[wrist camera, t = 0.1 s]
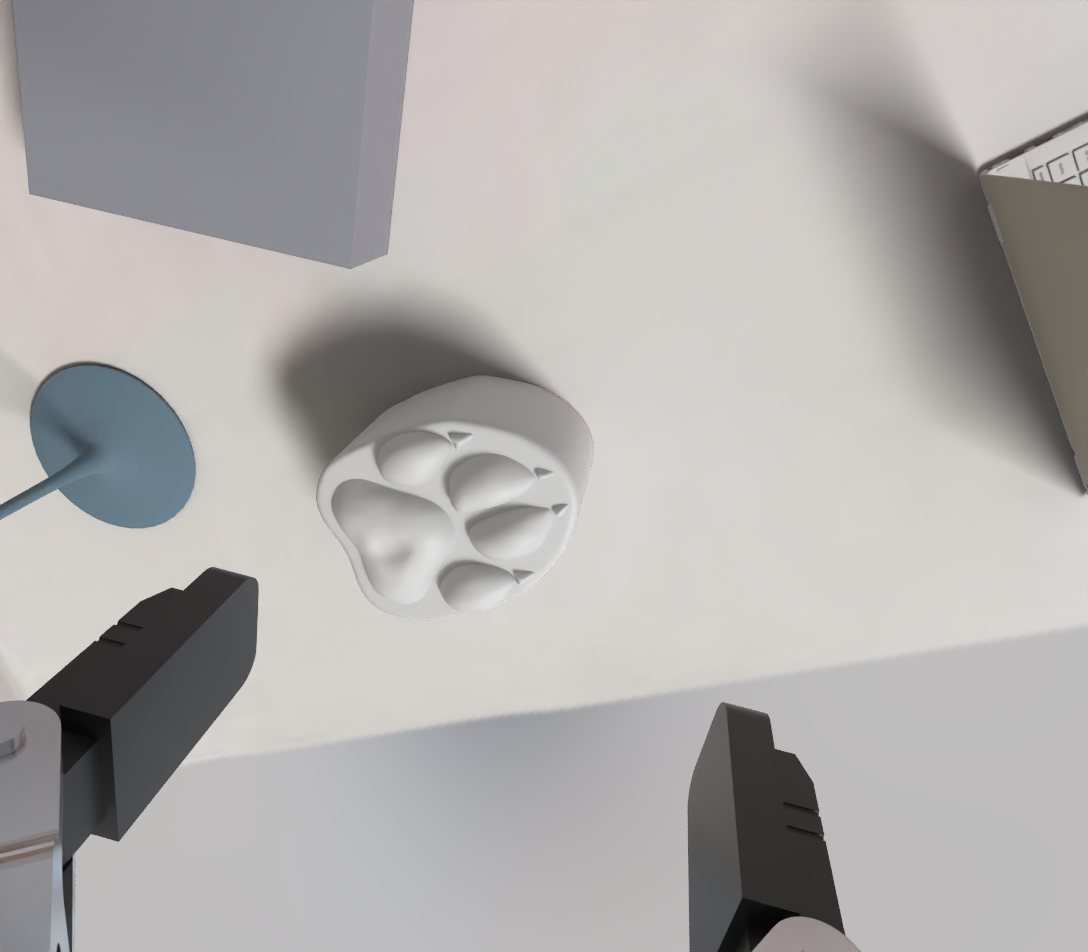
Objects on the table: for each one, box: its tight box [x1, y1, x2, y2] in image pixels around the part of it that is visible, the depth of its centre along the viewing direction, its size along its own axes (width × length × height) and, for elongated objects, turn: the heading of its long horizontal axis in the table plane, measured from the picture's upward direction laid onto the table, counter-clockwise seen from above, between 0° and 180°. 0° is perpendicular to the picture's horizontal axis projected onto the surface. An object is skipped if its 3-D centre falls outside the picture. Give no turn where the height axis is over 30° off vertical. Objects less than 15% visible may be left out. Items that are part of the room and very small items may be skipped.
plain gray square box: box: [12, 0, 414, 269], centre depth 35 cm, size 17×16×5 cm
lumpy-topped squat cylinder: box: [316, 375, 594, 620], centre depth 40 cm, size 10×13×9 cm
